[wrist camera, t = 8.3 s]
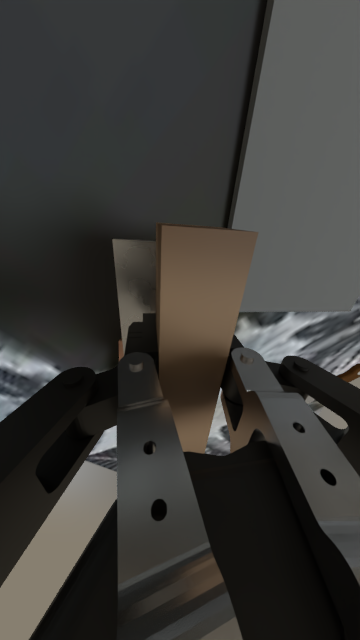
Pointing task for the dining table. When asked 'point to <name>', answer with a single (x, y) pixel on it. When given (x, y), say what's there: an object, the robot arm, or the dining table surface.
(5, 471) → the robot arm
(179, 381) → the plastering trowel
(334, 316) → the dining table surface
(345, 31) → the mat
